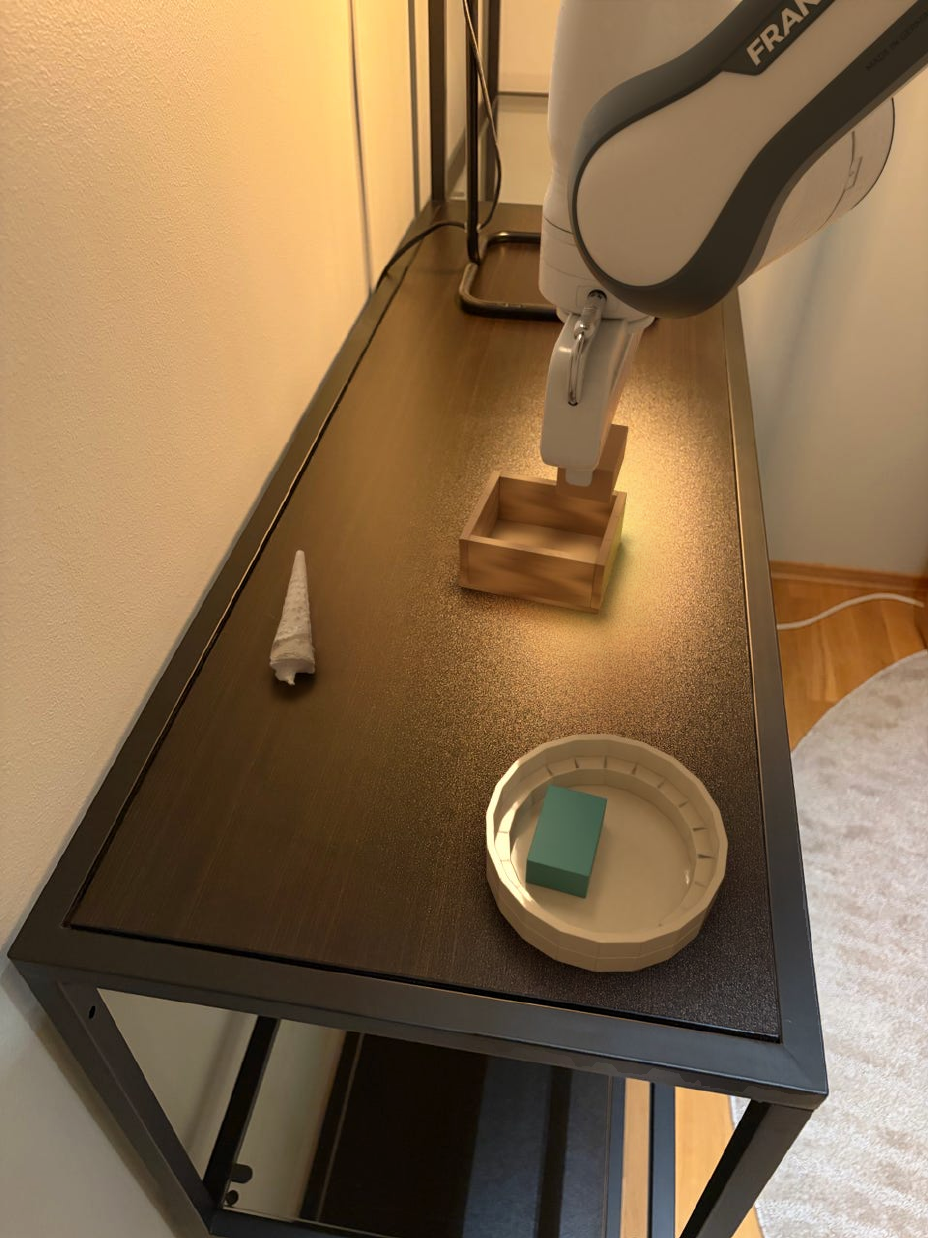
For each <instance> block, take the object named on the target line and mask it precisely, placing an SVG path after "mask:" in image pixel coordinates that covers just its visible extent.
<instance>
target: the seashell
mask: <svg viewBox="0 0 928 1238" xmlns="http://www.w3.org/2000/svg"><path fill="white" fill-rule="evenodd" d="M308 586H309V585H308V574H307V564H306V557H305V552H304V551H303V550H300V549H299V550H297V551H296V552H295V556H294V561H293V564H292V568H291V575H290V579H289V583H288V585H287V587H288V589H287V590H286V592H287V593H286V597H285V598H284V605H283V607H282V614H281V619H280V621H279V624H278V626H277V629H276V633H275V637H274V640H273V642H272V645H271V647H270V654H269V655H270V656H269V667H270V668H272V669H273V670H275V673H274V676H275V677H276V679H278V681H282V682H283V681H284V682H286V683H287V684H288V685H289V686H295V685H296V683H295V682H294V681H295V677H296V674H297V673H303V674H304V673H307V674H315V672H316V668H315V665H316V662H315V652H316V649H315V648H314V646H313V638H312V637H313V634H312V623H311V611H310V607H311V604H310V602H309V587H308Z"/></svg>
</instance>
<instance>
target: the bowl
mask: <svg viewBox="0 0 928 1238" xmlns="http://www.w3.org/2000/svg"><path fill="white" fill-rule="evenodd" d="M549 784H550V785H554V786H558V787H562V788H566V789H570V790H574V791H578V792H582V793H586V794H590V795H594V796H598V797H602V798H606V799H607V805H606V810H605V816H604V822H603V826H602V831H601V835H600V839H599V843H598V848H597V852H596V856H595V861H594V865H593V869H592V874H591V878H590V882H589V886H588V891H587V895H586V898H581V897H577V896H574V895H570V894H566V893H563V892H559V891H556V890H552V889H548V888H545V887H541V886H538V885H534V884H530V883H527V882H525V878H526V862H527V857H528V853H529V850H530V847H531V843H532V840H533V836H534V833H535V830H536V826H537V823H538V819H539V816H540V813H541V809H542V806H543V803H544V799H545V796H546V792H547V789H548V786H549ZM724 825H725V824H724V822H723V818H722V814H721V810H720V809H719V807H718V805H717V804H716V802H715V800H714V799H713V797H712V796H711V795H710V793H709V791H708V789H707V788H706V786H705V785H704V784H703V782H702V781H701V780H700V778H698V777H697V776H696V775H695V774H694V773H692V772H691V771H690V770H689V769H688V768H687V767H686V766H685V765H684V764H682V763H681V762H680V761H679V760H678V759H677V758H676V757H673V756H672V755H670V754H668V753H666V752H665V751H662V750H660V749H659V748H656V747H654V746H652V745H650V744H648V743H646V742H644V741H641V740H637V739H632V738H627V737H623V736H619V735H615V734H610V733H583V734H571V735H568V736H565V737H561V738H558V739H554V740H550V741H547V742H543V743H541V744H539V745H538V746H536V747H535V748H533V749H532V750H530V751H528V752H527V753H525V754H524V755H522V756H520V757H519V758H517V759H516V760H515V761H514V762H513V763H512V764H511V766H510V767H509V768H508V769H507V771H505V773H504V774H503V775H502V777H501V778H500V779H499V780H498V781H497V782H496V784H495V787H494V788H493V793H492V795H491V797H490V800H489V804H488V807H487V809H486V813H485V867H486V869H485V870H486V879H487V882H488V885H489V887H490V891H491V893H492V896H493V898H494V900H495V903H496V906H497V908H498V911H499V912H500V913H501V914H502V916H503V917H504V918H505V919H506V921H507V922H508V923H509V924H510V925H511V926H512V928H513V929H514V930H515V931H516V933H517V934H518V935H519V936H520V938H521V939H522V940H524V941H525V942H527V943H528V944H529V945H531V946H533V947H535V948H536V949H537V950H539V951H540V952H542V953H544V954H545V955H547V956H548V957H550V958H551V959H553V960H554V961H557V962H559V963H562V964H563V963H564V964H567V965H570V966H573V967H577V968H581V969H583V970H587V971H590V972H595V973H612V972H613V973H615V972H616V973H617V972H621V973H622V972H623V973H625V972H637V971H640V970H642V969H645V968H647V967H648V968H649V967H650V966H653V965H656V964H659V963H662V962H664V961H665V962H666V961H668V960H669V959H672V958H673V957H674V956H675V955H676V954H677V953H679V952H680V951H681V950H683V948H685V947H686V946H687V945H689V944H690V943H691V942H692V941H694V939H695V938H696V937H697V936H698V935H699V933H700V931H701V930H702V928H703V926H704V925H705V922H706V920H707V919H708V917H709V915H710V913H711V911H712V910H713V908H714V905H715V902H716V900H717V897H718V894H719V891H720V889H721V886H722V884H723V881H724V878H725V875H726V867H727V866H726V865H727V856H728V848H729V841H728V837H727V834H726V830H725V826H724Z"/></svg>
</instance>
